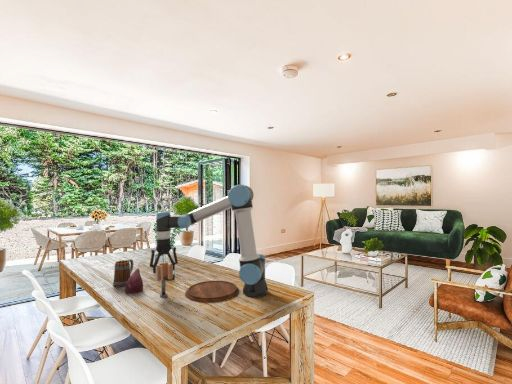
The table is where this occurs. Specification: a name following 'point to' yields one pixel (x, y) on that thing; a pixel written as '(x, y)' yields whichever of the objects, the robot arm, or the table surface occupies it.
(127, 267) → the mug
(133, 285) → the vegetable
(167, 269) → the c link
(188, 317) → the table surface
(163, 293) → the stand
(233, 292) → the cutting board
